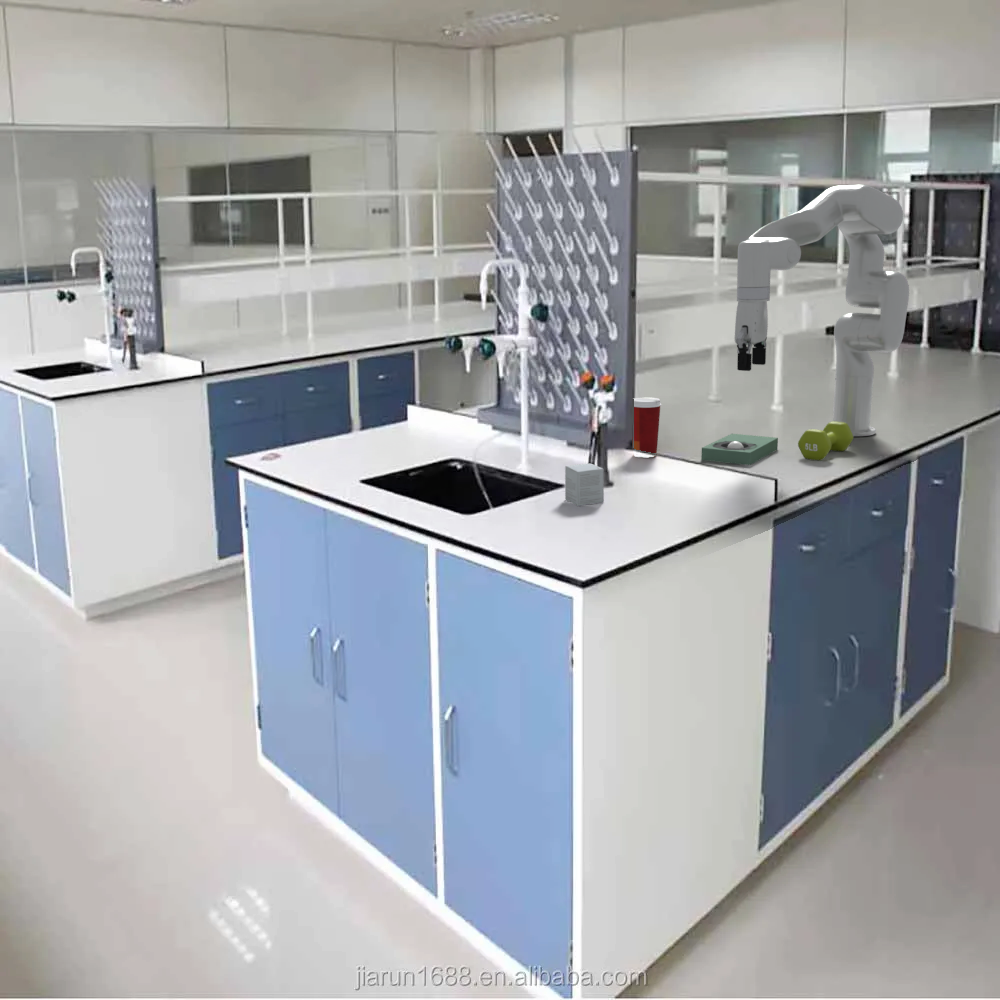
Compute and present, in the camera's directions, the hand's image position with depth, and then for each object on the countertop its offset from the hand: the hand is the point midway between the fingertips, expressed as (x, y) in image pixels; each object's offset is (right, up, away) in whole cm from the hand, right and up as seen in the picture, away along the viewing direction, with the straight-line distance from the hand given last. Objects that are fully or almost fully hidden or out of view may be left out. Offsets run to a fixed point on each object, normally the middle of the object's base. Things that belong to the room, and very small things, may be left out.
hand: (751, 367), depth 253 cm
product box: (-42, -32, -33) cm, 63 cm away
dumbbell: (+19, -21, +6) cm, 29 cm away
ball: (-3, -19, +4) cm, 20 cm away
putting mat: (-1, -20, +7) cm, 22 cm away
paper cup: (-24, -21, +8) cm, 33 cm away
